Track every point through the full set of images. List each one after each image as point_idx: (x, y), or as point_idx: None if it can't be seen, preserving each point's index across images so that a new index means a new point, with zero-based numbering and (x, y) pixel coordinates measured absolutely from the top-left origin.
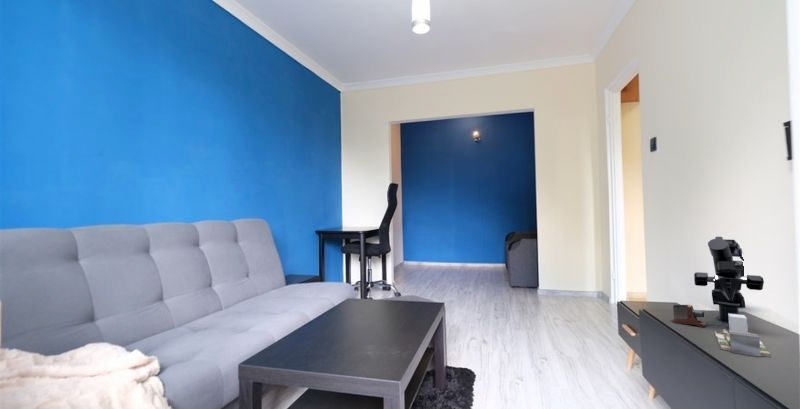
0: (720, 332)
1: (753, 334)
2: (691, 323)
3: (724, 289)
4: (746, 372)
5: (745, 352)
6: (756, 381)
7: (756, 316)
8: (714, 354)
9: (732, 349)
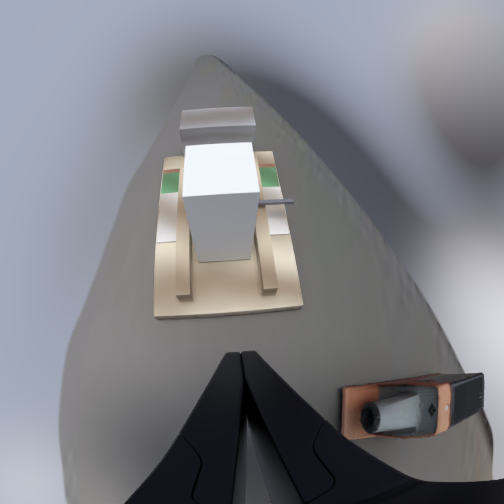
0: (281, 200)
1: (190, 123)
2: (388, 381)
3: (327, 430)
4: (231, 86)
5: None
6: (223, 72)
7: None
8: (282, 127)
9: None
